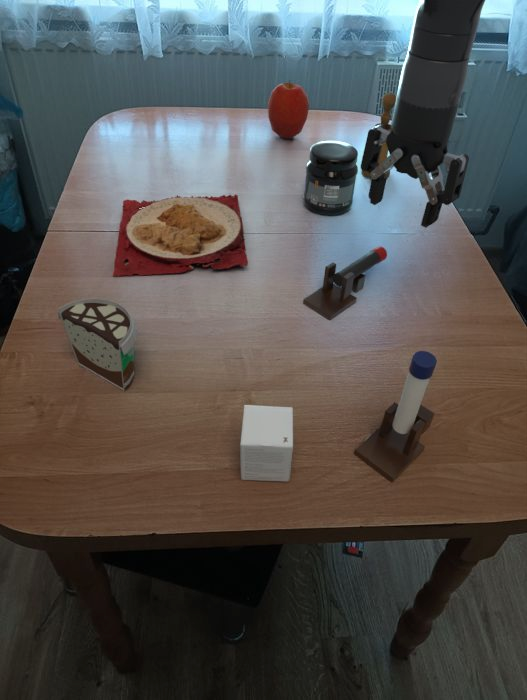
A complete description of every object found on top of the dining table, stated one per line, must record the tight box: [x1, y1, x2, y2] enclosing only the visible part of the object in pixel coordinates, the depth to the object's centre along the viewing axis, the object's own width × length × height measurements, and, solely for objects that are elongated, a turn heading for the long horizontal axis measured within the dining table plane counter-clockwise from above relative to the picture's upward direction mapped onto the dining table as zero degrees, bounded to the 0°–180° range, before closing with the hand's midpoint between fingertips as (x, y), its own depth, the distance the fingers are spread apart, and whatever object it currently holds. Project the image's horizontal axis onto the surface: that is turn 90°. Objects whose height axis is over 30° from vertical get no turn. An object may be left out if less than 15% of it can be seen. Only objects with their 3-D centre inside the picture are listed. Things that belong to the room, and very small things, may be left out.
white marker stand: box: [353, 402, 435, 483], centre depth 69 cm, size 11×6×6 cm, turn 135°
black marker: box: [333, 245, 388, 288], centre depth 93 cm, size 12×3×3 cm, turn 135°
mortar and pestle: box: [361, 92, 397, 180], centre depth 121 cm, size 7×6×18 cm
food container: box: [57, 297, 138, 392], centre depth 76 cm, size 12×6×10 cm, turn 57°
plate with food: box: [112, 194, 249, 277], centre depth 104 cm, size 24×26×3 cm
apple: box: [267, 79, 310, 139], centre depth 136 cm, size 10×10×14 cm
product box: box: [239, 404, 294, 483], centre depth 65 cm, size 6×6×7 cm
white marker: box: [392, 350, 438, 434], centre depth 63 cm, size 12×3×3 cm
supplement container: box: [302, 140, 359, 216], centre depth 112 cm, size 10×10×12 cm
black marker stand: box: [302, 262, 366, 321], centre depth 90 cm, size 11×6×6 cm, turn 135°
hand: (400, 213), depth 77 cm, fingers open, 8 cm apart
